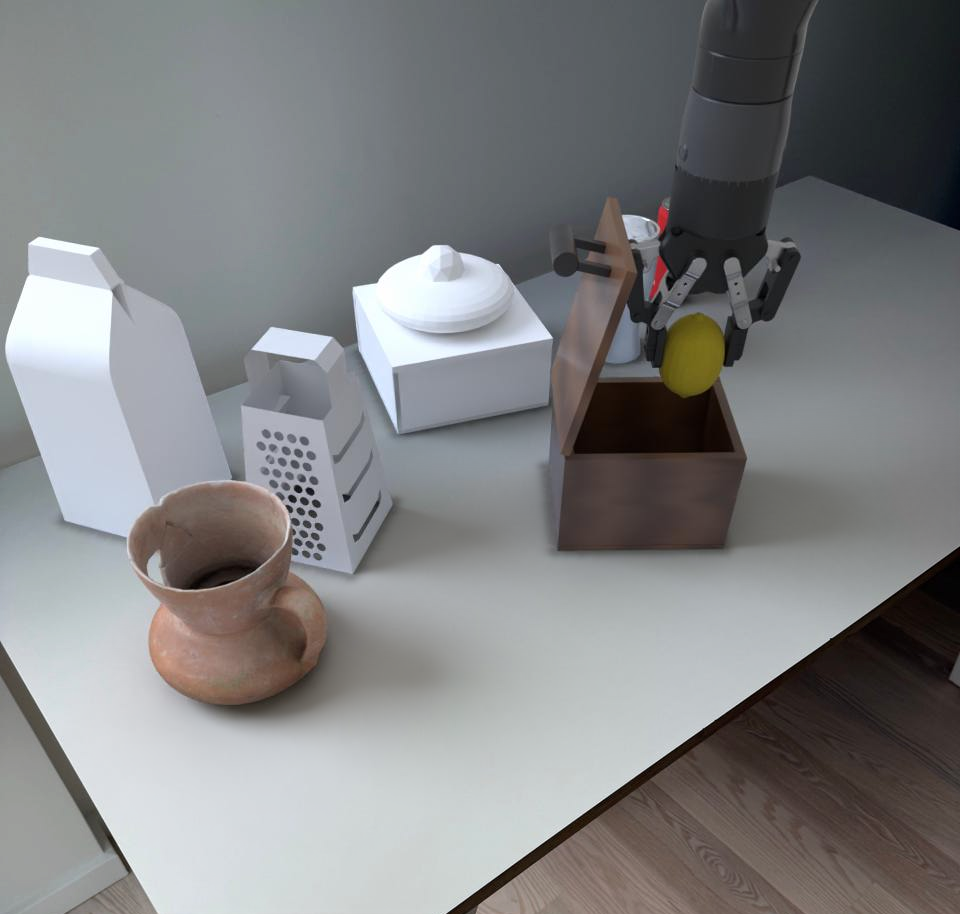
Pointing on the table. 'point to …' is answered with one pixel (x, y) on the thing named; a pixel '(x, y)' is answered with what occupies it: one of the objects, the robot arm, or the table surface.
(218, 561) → the ceramic jug
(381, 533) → the table surface
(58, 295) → the milk
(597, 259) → the lid
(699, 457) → the chest
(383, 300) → the white lidded square jar
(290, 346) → the grater
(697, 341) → the lemon
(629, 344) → the beer glass
